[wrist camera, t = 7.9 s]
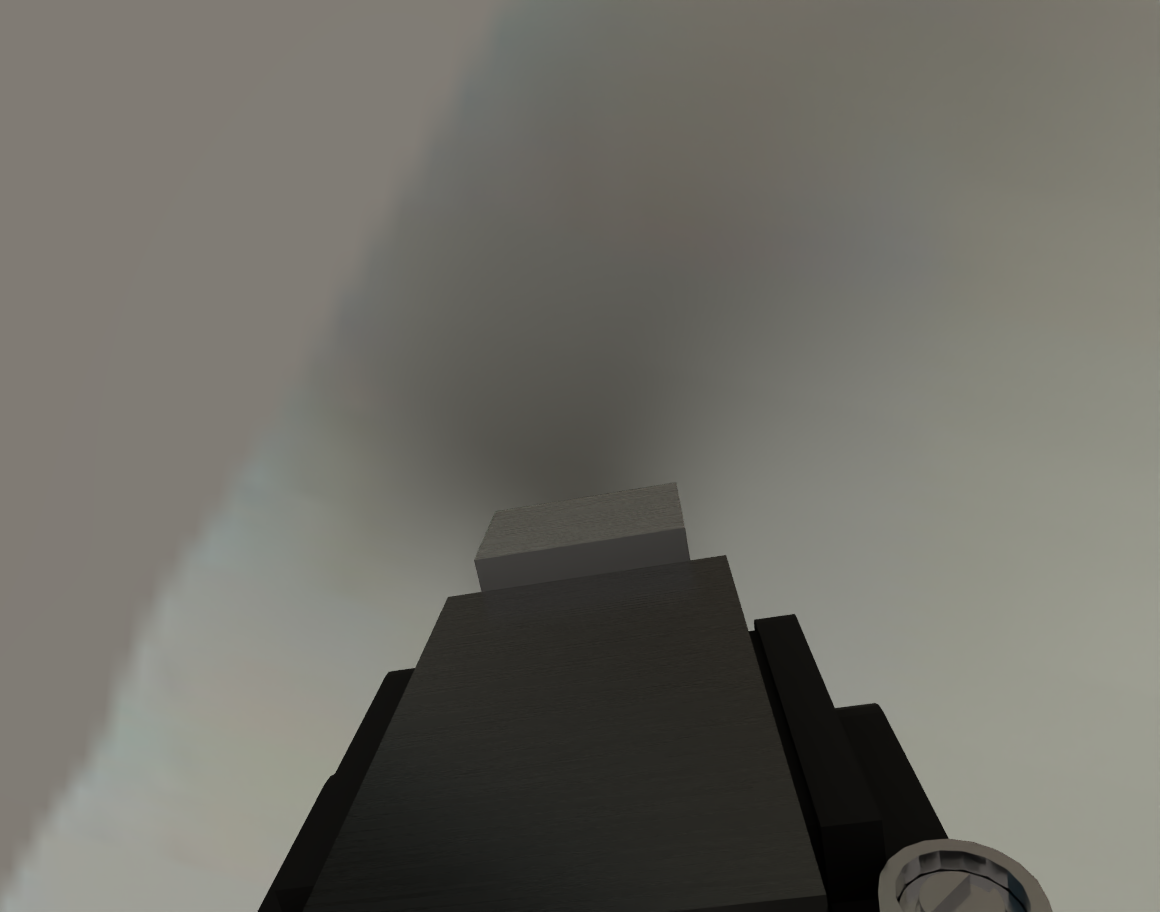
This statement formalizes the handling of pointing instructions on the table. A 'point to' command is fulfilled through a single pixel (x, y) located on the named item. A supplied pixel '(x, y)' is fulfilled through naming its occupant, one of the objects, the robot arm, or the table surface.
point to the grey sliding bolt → (581, 737)
